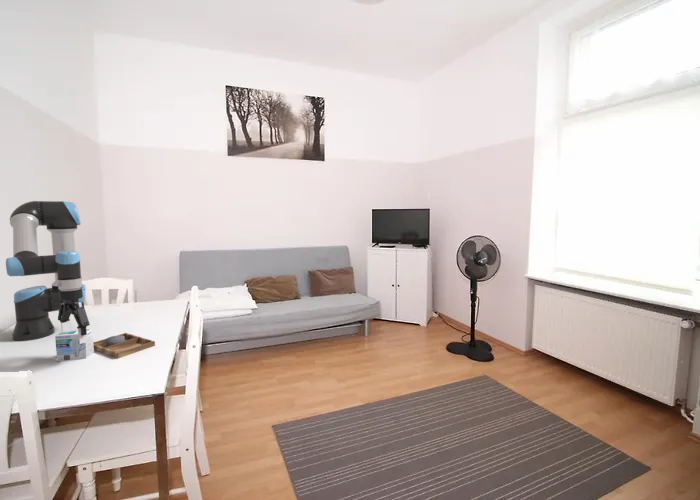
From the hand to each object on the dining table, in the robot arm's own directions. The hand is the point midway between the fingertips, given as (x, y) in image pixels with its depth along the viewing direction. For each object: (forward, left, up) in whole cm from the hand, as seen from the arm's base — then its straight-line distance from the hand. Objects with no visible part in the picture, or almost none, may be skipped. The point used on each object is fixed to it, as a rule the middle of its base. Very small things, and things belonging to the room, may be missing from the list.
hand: (74, 340), depth 142 cm
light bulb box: (0, 0, -8) cm, 8 cm away
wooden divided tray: (+6, +15, -7) cm, 18 cm away
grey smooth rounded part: (0, +15, -7) cm, 17 cm away
